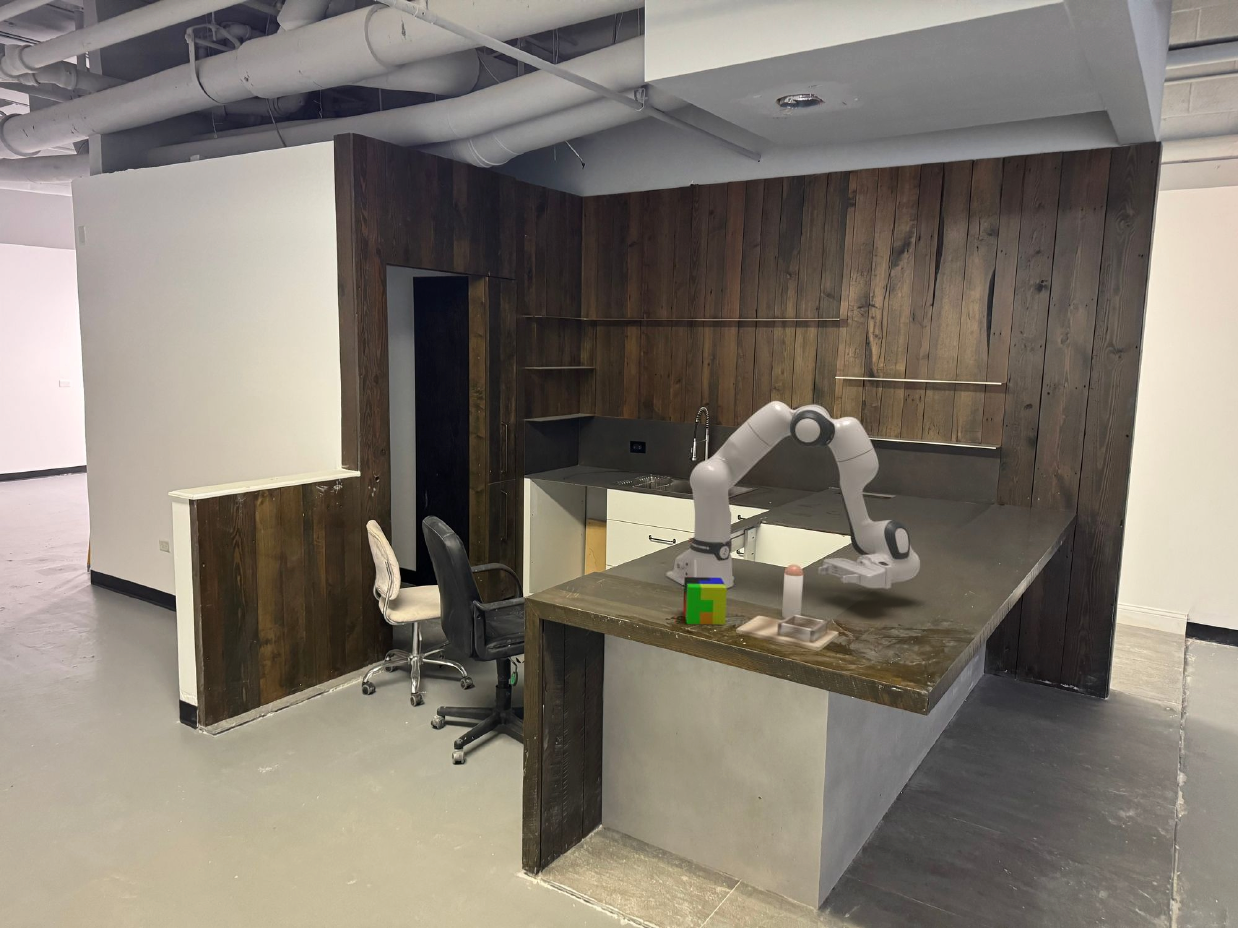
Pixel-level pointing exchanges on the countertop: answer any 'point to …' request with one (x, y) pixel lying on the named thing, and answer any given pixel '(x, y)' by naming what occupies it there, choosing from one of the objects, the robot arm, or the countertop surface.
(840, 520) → the countertop surface
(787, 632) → the jig cradle
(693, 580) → the puzzle toy
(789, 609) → the dome-capped white cylinder
